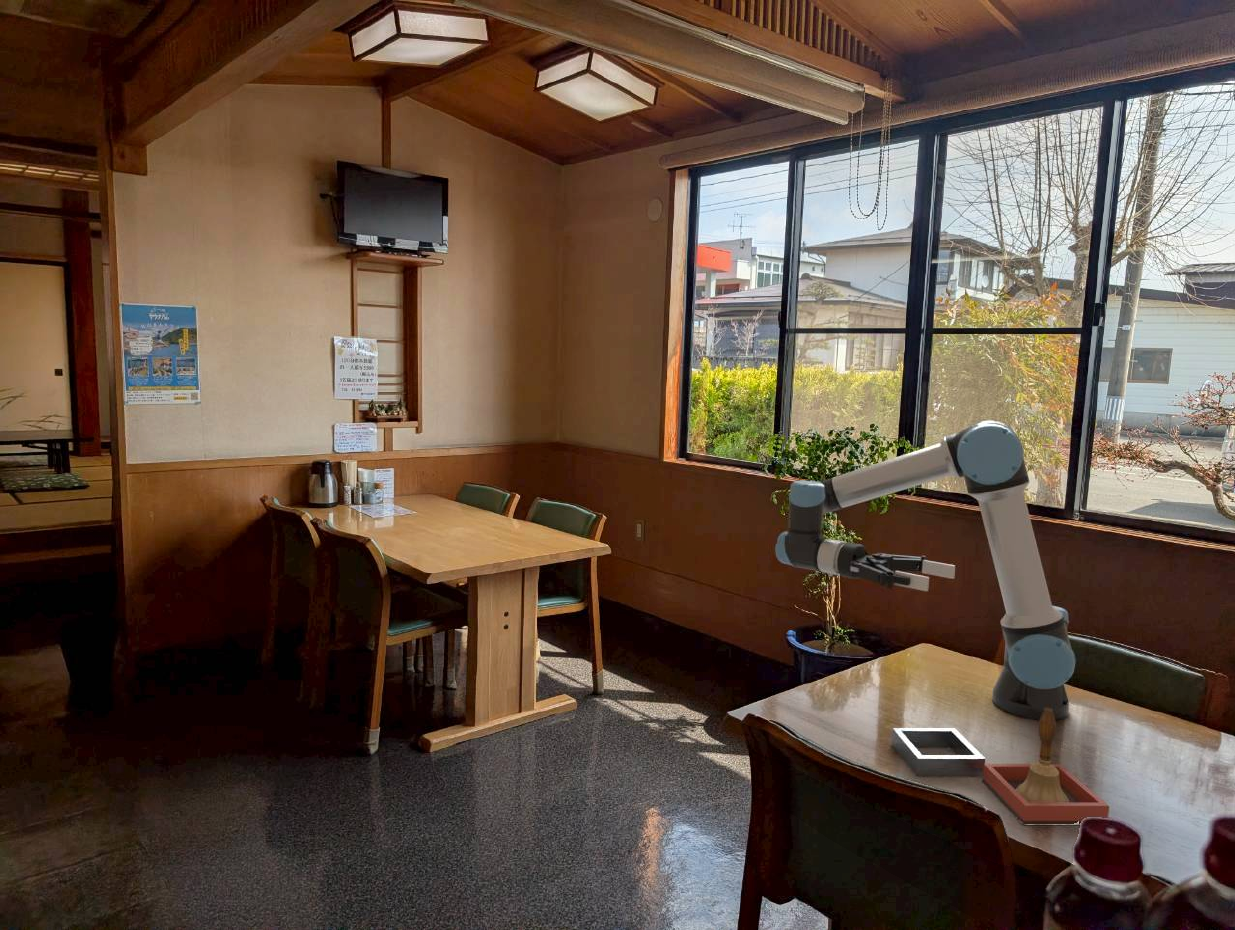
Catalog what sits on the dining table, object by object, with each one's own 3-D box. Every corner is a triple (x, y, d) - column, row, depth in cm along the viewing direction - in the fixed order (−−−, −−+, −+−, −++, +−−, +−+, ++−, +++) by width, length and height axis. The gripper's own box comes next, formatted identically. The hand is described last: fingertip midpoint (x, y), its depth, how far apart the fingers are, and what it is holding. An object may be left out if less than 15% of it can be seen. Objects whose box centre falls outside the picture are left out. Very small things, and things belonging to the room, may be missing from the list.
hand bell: (1024, 808, 138) (1032, 717, 136) (1009, 783, 146) (1016, 697, 144) (1077, 813, 137) (1086, 721, 135) (1059, 788, 145) (1067, 701, 143)
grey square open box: (953, 745, 162) (954, 728, 162) (983, 776, 150) (985, 758, 149) (891, 745, 162) (892, 728, 161) (917, 776, 149) (918, 758, 149)
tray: (1058, 781, 149) (1059, 764, 148) (1107, 825, 135) (1109, 805, 134) (982, 781, 148) (983, 763, 148) (1023, 825, 134) (1025, 805, 134)
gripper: (868, 566, 188) (962, 584, 174) (813, 586, 170) (914, 609, 156) (870, 534, 187) (965, 550, 173) (815, 550, 169) (917, 570, 155)
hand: (941, 578), depth 165 cm, fingers open, 13 cm apart
